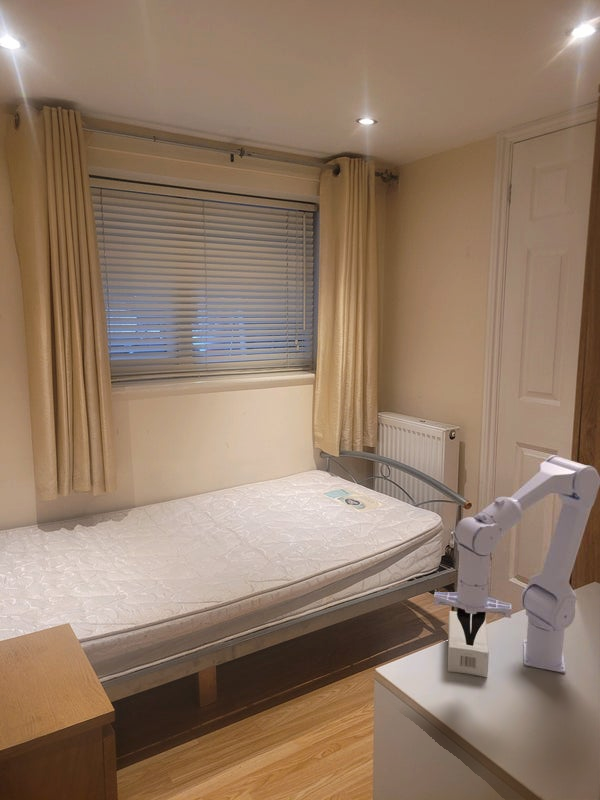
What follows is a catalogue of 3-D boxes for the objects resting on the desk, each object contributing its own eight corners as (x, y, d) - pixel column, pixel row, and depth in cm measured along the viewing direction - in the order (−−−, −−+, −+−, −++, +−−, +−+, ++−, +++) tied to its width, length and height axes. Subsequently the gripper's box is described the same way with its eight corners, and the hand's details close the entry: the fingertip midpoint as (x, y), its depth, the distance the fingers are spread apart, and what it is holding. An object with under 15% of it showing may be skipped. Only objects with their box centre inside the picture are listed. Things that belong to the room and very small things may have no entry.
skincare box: (487, 678, 119) (486, 638, 133) (489, 651, 118) (487, 614, 132) (445, 671, 121) (448, 632, 135) (446, 645, 120) (449, 608, 134)
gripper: (432, 582, 112) (430, 646, 114) (512, 595, 107) (508, 661, 109) (437, 566, 118) (434, 627, 121) (512, 577, 113) (508, 640, 116)
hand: (469, 642), depth 115 cm, fingers closed
